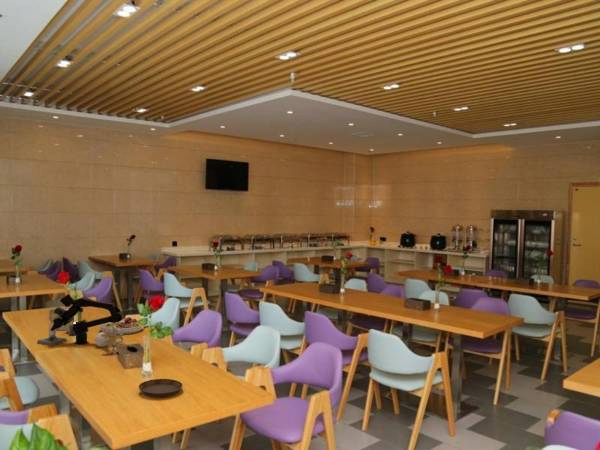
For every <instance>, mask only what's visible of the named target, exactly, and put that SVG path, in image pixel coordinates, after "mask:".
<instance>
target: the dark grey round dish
mask: <svg viewBox="0 0 600 450" xmlns="http://www.w3.org/2000/svg"><path fill="white" fill-rule="evenodd" d="M36 342H37V344H39V345H45V346H50V347H51V346H52V347H53V346H55V345H59V344H63V343H67V338H65V337H58V336H56V340H54V341H49V337H45V338H41V339H37V341H36Z"/></svg>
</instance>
